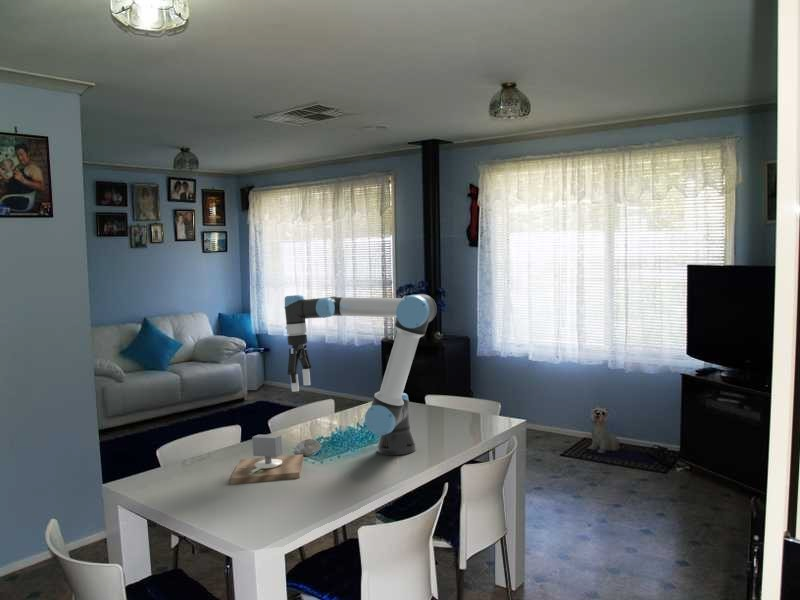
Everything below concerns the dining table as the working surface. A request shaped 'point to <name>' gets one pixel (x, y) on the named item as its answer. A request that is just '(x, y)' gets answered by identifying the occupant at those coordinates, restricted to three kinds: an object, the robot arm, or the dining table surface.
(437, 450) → the dining table surface
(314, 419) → the dining table surface
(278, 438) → the tuning knob
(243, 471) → the dial board
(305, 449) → the fossilized seashell
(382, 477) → the dining table surface
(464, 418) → the dining table surface
